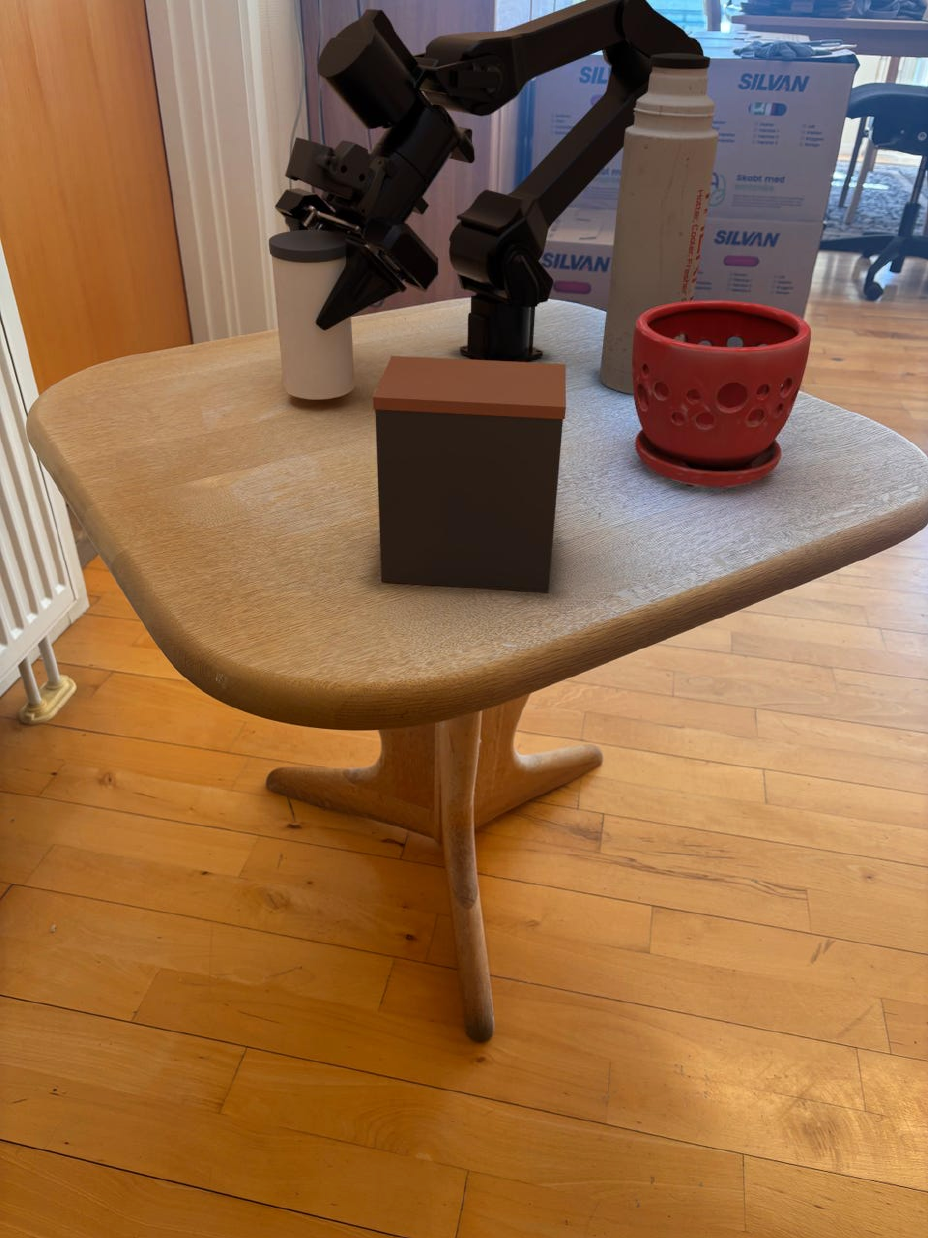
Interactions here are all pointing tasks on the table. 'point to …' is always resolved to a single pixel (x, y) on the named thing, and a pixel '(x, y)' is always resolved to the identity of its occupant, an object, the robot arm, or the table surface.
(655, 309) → the flower pot
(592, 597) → the table surface
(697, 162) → the thermos bottle
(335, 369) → the container
